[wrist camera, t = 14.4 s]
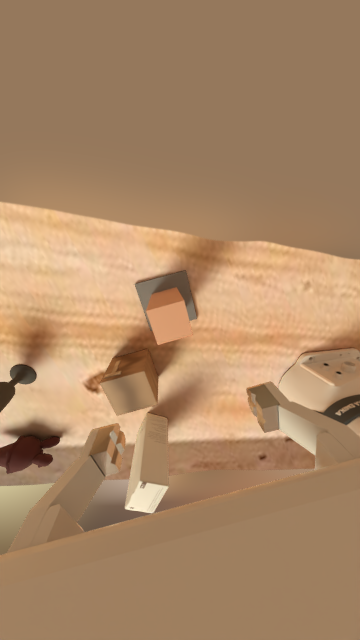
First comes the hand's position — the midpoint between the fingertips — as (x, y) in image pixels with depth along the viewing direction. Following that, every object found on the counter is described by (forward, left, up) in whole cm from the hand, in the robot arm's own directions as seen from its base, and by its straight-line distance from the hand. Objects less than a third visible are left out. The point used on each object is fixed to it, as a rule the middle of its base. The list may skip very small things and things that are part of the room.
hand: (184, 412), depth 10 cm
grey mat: (0, -1, -25) cm, 25 cm away
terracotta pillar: (0, -1, -25) cm, 25 cm away
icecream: (+42, +23, -26) cm, 55 cm away
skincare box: (+13, +30, -26) cm, 41 cm away
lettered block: (+11, +12, -25) cm, 30 cm away
